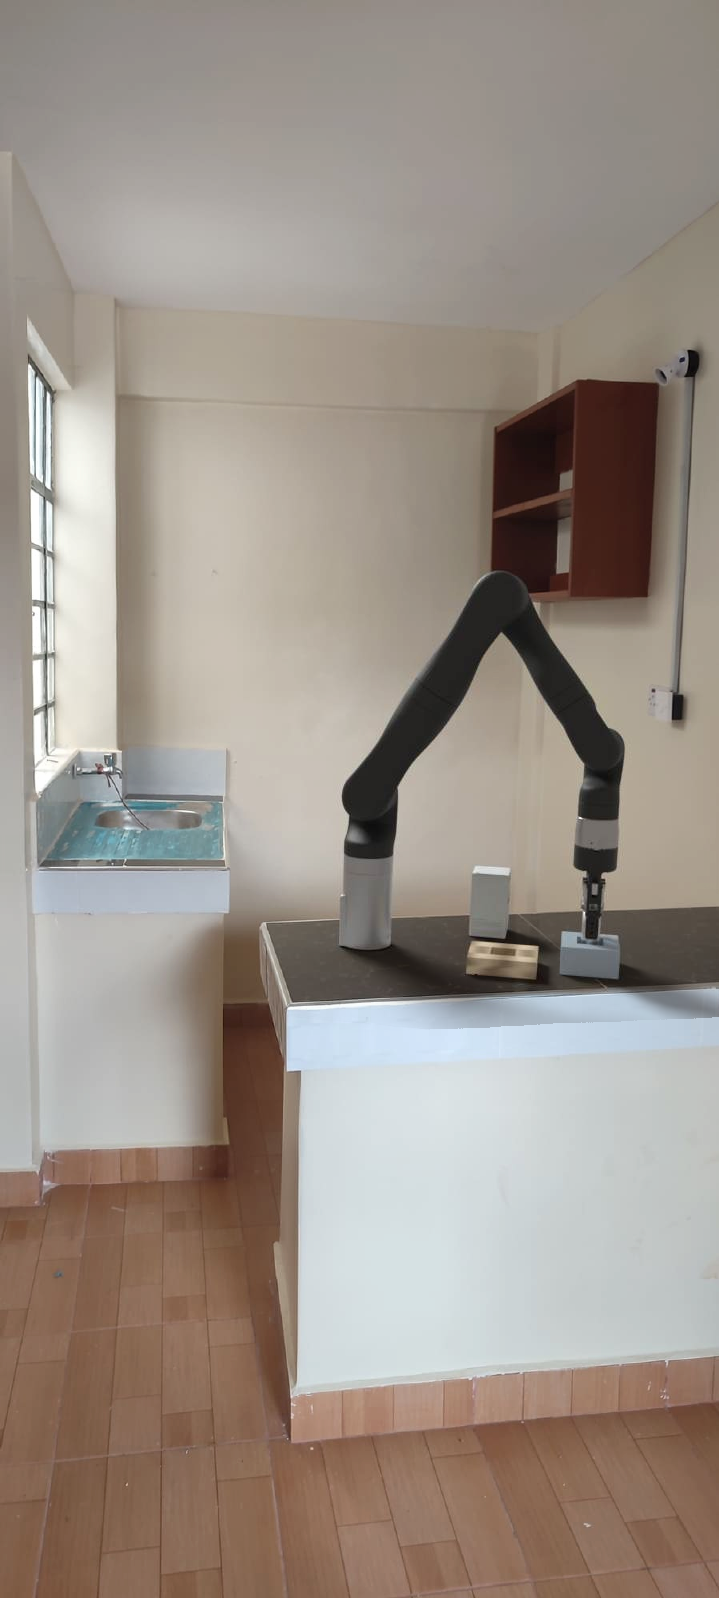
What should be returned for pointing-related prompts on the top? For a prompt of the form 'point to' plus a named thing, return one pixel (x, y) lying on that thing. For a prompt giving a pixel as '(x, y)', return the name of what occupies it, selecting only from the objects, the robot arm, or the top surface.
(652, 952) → the top surface
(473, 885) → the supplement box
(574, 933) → the socket
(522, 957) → the mount
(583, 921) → the pin
